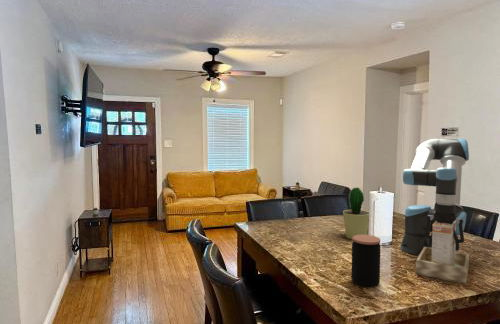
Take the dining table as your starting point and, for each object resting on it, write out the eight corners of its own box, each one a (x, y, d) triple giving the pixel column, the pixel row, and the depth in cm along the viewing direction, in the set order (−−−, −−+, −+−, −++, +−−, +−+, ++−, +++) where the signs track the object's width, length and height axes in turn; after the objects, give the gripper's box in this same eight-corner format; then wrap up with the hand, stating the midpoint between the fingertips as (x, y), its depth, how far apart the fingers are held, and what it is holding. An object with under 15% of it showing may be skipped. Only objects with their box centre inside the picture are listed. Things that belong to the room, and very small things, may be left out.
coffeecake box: (437, 259, 153) (438, 217, 152) (455, 263, 149) (456, 220, 148) (430, 269, 142) (431, 224, 140) (449, 273, 137) (451, 226, 136)
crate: (415, 274, 142) (416, 260, 141) (423, 259, 160) (424, 246, 159) (466, 284, 131) (466, 269, 131) (468, 267, 149) (469, 254, 149)
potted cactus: (365, 242, 185) (366, 189, 183) (338, 237, 195) (339, 186, 193) (373, 236, 198) (374, 186, 196) (348, 232, 207) (349, 184, 205)
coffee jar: (373, 277, 139) (374, 234, 138) (384, 288, 128) (385, 242, 127) (347, 277, 138) (348, 234, 137) (356, 288, 128) (357, 242, 126)
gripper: (417, 202, 146) (416, 253, 148) (473, 207, 135) (471, 263, 136) (420, 200, 152) (419, 249, 154) (473, 204, 141) (471, 257, 142)
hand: (443, 255), depth 145 cm, fingers open, 7 cm apart
